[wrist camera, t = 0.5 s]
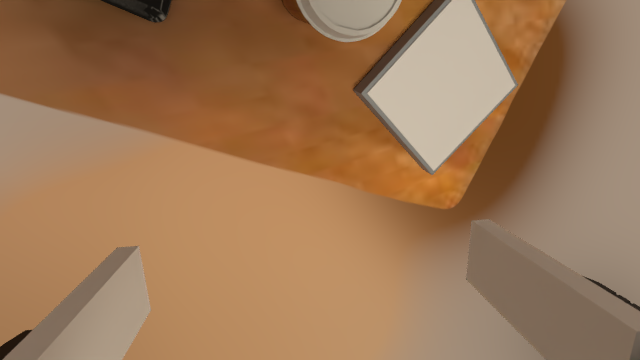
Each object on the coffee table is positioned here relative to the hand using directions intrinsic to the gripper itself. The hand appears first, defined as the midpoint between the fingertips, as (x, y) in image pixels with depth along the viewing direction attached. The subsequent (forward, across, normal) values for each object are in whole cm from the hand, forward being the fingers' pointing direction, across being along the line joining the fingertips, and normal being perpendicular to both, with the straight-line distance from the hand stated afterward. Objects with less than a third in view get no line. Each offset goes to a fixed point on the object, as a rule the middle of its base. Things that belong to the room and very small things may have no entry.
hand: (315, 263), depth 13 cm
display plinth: (+32, +20, +7) cm, 38 cm away
